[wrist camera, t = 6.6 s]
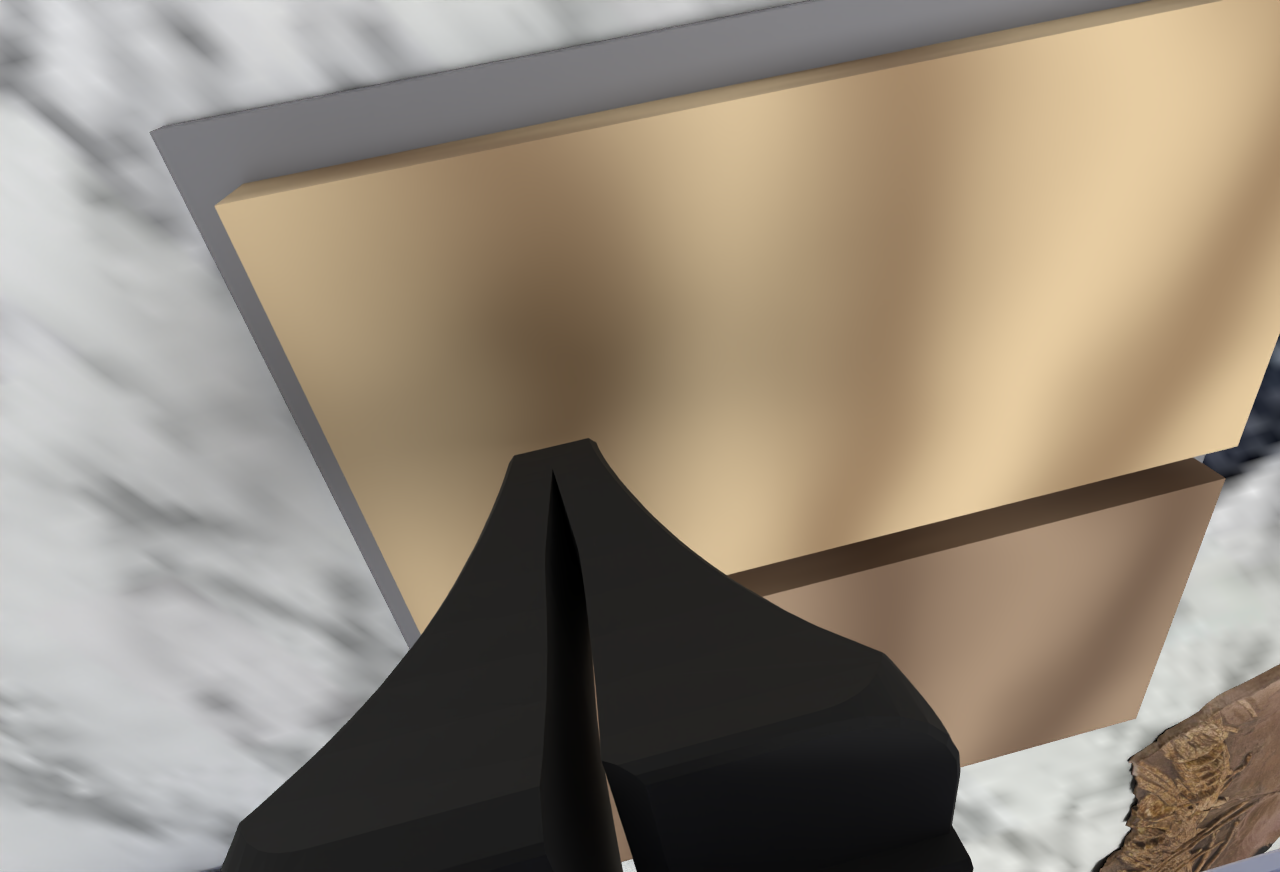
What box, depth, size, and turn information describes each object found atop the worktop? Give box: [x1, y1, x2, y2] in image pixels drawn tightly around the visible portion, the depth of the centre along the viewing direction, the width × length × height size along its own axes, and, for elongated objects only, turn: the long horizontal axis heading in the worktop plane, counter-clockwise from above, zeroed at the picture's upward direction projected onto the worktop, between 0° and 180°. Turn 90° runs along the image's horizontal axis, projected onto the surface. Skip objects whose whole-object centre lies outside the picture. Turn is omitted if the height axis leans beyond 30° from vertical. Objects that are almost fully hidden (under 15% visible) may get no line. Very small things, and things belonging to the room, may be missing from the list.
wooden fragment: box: [1100, 664, 1280, 872], centre depth 34 cm, size 26×11×1 cm, turn 11°
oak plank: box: [215, 0, 1280, 634], centre depth 15 cm, size 20×10×2 cm, turn 99°
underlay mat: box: [150, 0, 1205, 649], centre depth 18 cm, size 22×23×1 cm
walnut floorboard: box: [592, 457, 1225, 862], centre depth 21 cm, size 20×10×2 cm, turn 99°
